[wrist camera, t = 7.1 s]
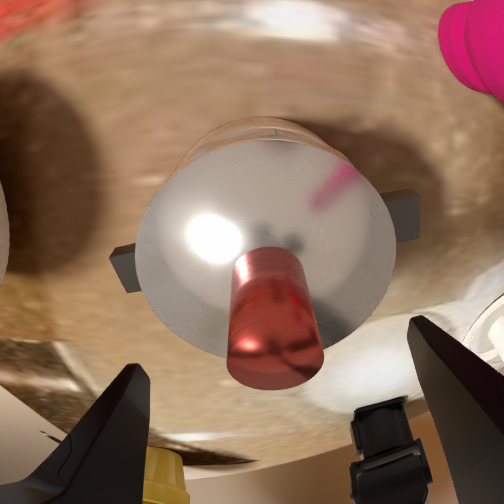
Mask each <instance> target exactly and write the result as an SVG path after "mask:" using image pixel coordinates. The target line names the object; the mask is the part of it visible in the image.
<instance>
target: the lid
mask: <svg viewBox="0 0 504 504" xmlns="http://www.w3.org/2000/svg"><path fill="white" fill-rule="evenodd" d="M395 259H396V237H395V231H394V226H393V222H392V219H391V217H390V214H389V211H388V209H387V207H386V205H385V203H384V201H383V200H382V198H381V196H380V195H379V193H378V192H377V191H376V189H375V188H374V187H373V186H372V184H371V183H370V182H369V181H368V180H367V179H366V178H365V177H364V176H363V175H362V174H361V173H360V172H359V171H358V170H357V169H356V168H355V167H353V166H352V165H351V164H350V163H349V162H348V161H346V160H345V159H343V158H342V157H340V156H339V155H337V154H335V153H334V152H332V151H330V150H328V149H326V148H323V147H321V146H319V145H317V144H314V143H310V142H307V141H304V140H300V139H295V138H289V137H281V136H255V137H248V138H241V139H236V140H233V141H229V142H226V143H222V144H219V145H217V146H215V147H212V148H210V149H208V150H206V151H204V152H201V153H200V154H198V155H197V156H195V157H193V158H192V159H190V160H189V161H187V162H186V163H184V164H183V165H182V166H181V167H180V168H179V169H178V170H176V171H175V172H174V173H173V174H172V175H171V176H170V177H169V178H168V180H167V181H166V182H165V183H164V184H163V185H162V187H161V188H160V189H159V191H158V192H157V194H156V195H155V197H154V198H153V200H152V201H151V203H150V205H149V206H148V208H147V210H146V212H145V214H144V216H143V219H142V221H141V224H140V226H139V230H138V234H137V239H136V246H135V264H136V273H137V277H138V281H139V284H140V287H141V290H142V292H143V294H144V297H145V299H146V300H147V302H148V304H149V305H150V307H151V309H152V310H153V312H154V313H155V314H156V315H157V317H158V318H159V319H160V320H161V321H162V322H163V323H164V324H165V325H166V326H167V327H168V328H169V329H170V330H171V331H172V332H173V333H175V334H176V335H177V336H179V337H180V338H181V339H183V340H184V341H186V342H188V343H189V344H191V345H193V346H195V347H197V348H199V349H201V350H203V351H205V352H208V353H211V354H213V355H216V356H219V357H223V358H227V369H228V371H229V373H230V375H231V376H232V377H233V378H234V379H235V380H237V381H238V382H239V383H241V384H243V385H245V386H248V387H251V388H254V389H260V390H283V389H288V388H292V387H295V386H298V385H300V384H302V383H304V382H306V381H308V380H309V379H311V378H312V377H313V376H315V375H316V374H317V373H318V371H319V370H320V369H321V367H322V365H323V362H324V353H323V350H324V349H326V348H328V347H330V346H332V345H334V344H335V343H337V342H339V341H341V340H342V339H344V338H345V337H347V336H348V335H350V334H351V333H352V332H353V331H355V330H356V329H357V328H358V327H359V326H361V325H362V324H363V323H364V322H365V320H366V319H367V318H368V317H369V316H370V315H371V314H372V313H373V311H374V310H375V309H376V307H377V306H378V305H379V303H380V301H381V300H382V298H383V296H384V295H385V293H386V291H387V288H388V286H389V284H390V281H391V278H392V275H393V271H394V267H395Z"/></svg>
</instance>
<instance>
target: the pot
mask: <svg viewBox="0 0 504 504" xmlns="http://www.w3.org/2000/svg"><path fill="white" fill-rule="evenodd" d="M255 136H281V137H289V138H295V139H300V140H304V141H307V142H310V143H314V144H317V145H319V146H321V147H323V148H326V149H328V150H330V151H332V152H334V153H335V154H337V155H339V156H340V157H342V158H343V159H345V160H346V161H348V162H349V163H350V164H351V165H352V166H353V164H352V163H351V162H350V160H349V159H348V158H347V157H346V156H345V155H343V154H342V153H341V152H340V151H338V150H335V149H332V148H331V147H330V146H329V145H328V144H327V143H326V142H325V141H324V140H322V139H321V138H320V137H319V136H317V135H316V134H315V133H313V132H312V131H310V130H308V129H307V128H305V127H303V126H301V125H299V124H296V123H294V122H291V121H287V120H283V119H279V118H272V117H251V118H244V119H239V120H236V121H232V122H229V123H227V124H224V125H222V126H220V127H218V128H216V129H214V130H213V131H211V132H209V133H208V134H206V135H205V136H204V137H203V138H201V139H200V140H199V141H198V142H197V143H196V144H195V145H194V146H193V147H192V148H191V149H190V151H189V152H188V153H187V154H186V156H185V157H184V159H183V160H182V161H181V163H180V164H179V166H178V167H177V168H176V170H178V169H179V168H180V167H181V166H182V165H183V164H184V163H186V162H187V161H189V160H190V159H192V158H193V157H195V156H197V155H198V154H200V153H201V152H204V151H206V150H208V149H210V148H212V147H215V146H217V145H219V144H222V143H226V142H229V141H233V140H236V139H241V138H248V137H255ZM353 167H354V166H353ZM176 170H175V171H176ZM175 171H174V172H175ZM167 180H168V179H167ZM167 180H166V181H167ZM166 181H165V182H166ZM161 187H162V186H161ZM161 187H160V188H161ZM160 188H159V189H160ZM159 189H158V190H157V191H156V193H155V194H154V195H153V197H152V198H151V200H150V201H149V205H150V203H151V201H152V200H153V198H154V197H155V195H156V194H157V192H158V191H159ZM379 195H380V196H381V198H382V200H383V201H384V203H385V205H386V207H387V209H388V211H389V214H390V217H391V219H392V222H393V226H394V231H395V237H396V243H398V242H403V241H407V240H412V239H417V238H419V220H420V196H419V195H418V194H417V193H416V192H415V191H414V190H412V189H407V190H401V191H395V192H388V193H382V194H379ZM135 246H136V243H134V244H129V245H125V246H121V247H117V248H115V249H114V251H113V252H112V254H111V255H110V257H109V259H110V261H111V263H112V265H113V267H114V269H115V271H116V273H117V275H118V277H119V279H120V281H121V283H122V285H123V286H124V288H125V290H126V292H127V293H132V292H138V291H142V290H141V287H140V284H139V281H138V277H137V273H136V264H135Z"/></svg>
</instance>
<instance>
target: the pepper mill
mask: <svg viewBox="0 0 504 504" xmlns="http://www.w3.org/2000/svg"><path fill="white" fill-rule="evenodd" d="M438 38H439V43H440V49H441V52H442V55H443V57H444V60H445V62H446V64H447V66H448V67H449V69H450V71H451V72H452V73H453V74H454V76H455V77H456V78H457V79H458V80H459V81H460V82H461V83H463V84H464V85H465V86H467V87H468V88H471V89H473V90H476V91H481V92H485V93H489V94H493V95H494V96H495V97H496V98H497V99H499V100H500V101H501V102H502V103H504V0H474V1H469V2H463V3H458V4H454V5H452V6H450V7H449V8H447V9H446V10H445V11H444V13H443V15H442V17H441V19H440V23H439V30H438Z"/></svg>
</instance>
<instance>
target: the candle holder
mask: <svg viewBox="0 0 504 504" xmlns="http://www.w3.org/2000/svg"><path fill="white" fill-rule="evenodd" d="M503 303H504V295H503V296H502V297H500V298H499V299H498V300H497V301H495V302H494V303H493V304H492V305H491V306H490V307H489V308H488V309H487V310H486V311H485V312H484V313H483V314H482V315H481V316H480V317H479V318H478V319H477V321H476V322H475V323H474V325H473V326H472V327H471V329H470V330H469V332H468V333H467V335H466V337H465V339H464V341H463V343H462V344H463V345H464V346H465V347H467V348H468V349H469V350H471V349H470V342H471V339H472V337H473V335H474V334H475V332H476V330H477V329H478V328H479V326H480V325H481V324H482V323H483V321H484V320H485V319H486V318H487V317H488V316H489V315H490V314H491V313H492V312H493V311H494V310H495V309H497V308H498V307H499V306H501V305H502V304H503ZM488 337H489V339H490V341H491V343H492V344H493V346H494V348H495V349H493V350H491V351H489V352H486V353H482V354H476V353H475V354H476V355H477V356H479V357H480V358H481V359H482V360H484V361H485V362H486V361H488V360H490V359H492V358H494V357H496V356H497V355H499V356H500V357H501V359H502V361H503V362H504V315H502V316H501V317H499V318H498V319H497V320H496V321H495V322H494V323H493V325H492V326H491V328H490V330H489V332H488Z"/></svg>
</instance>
